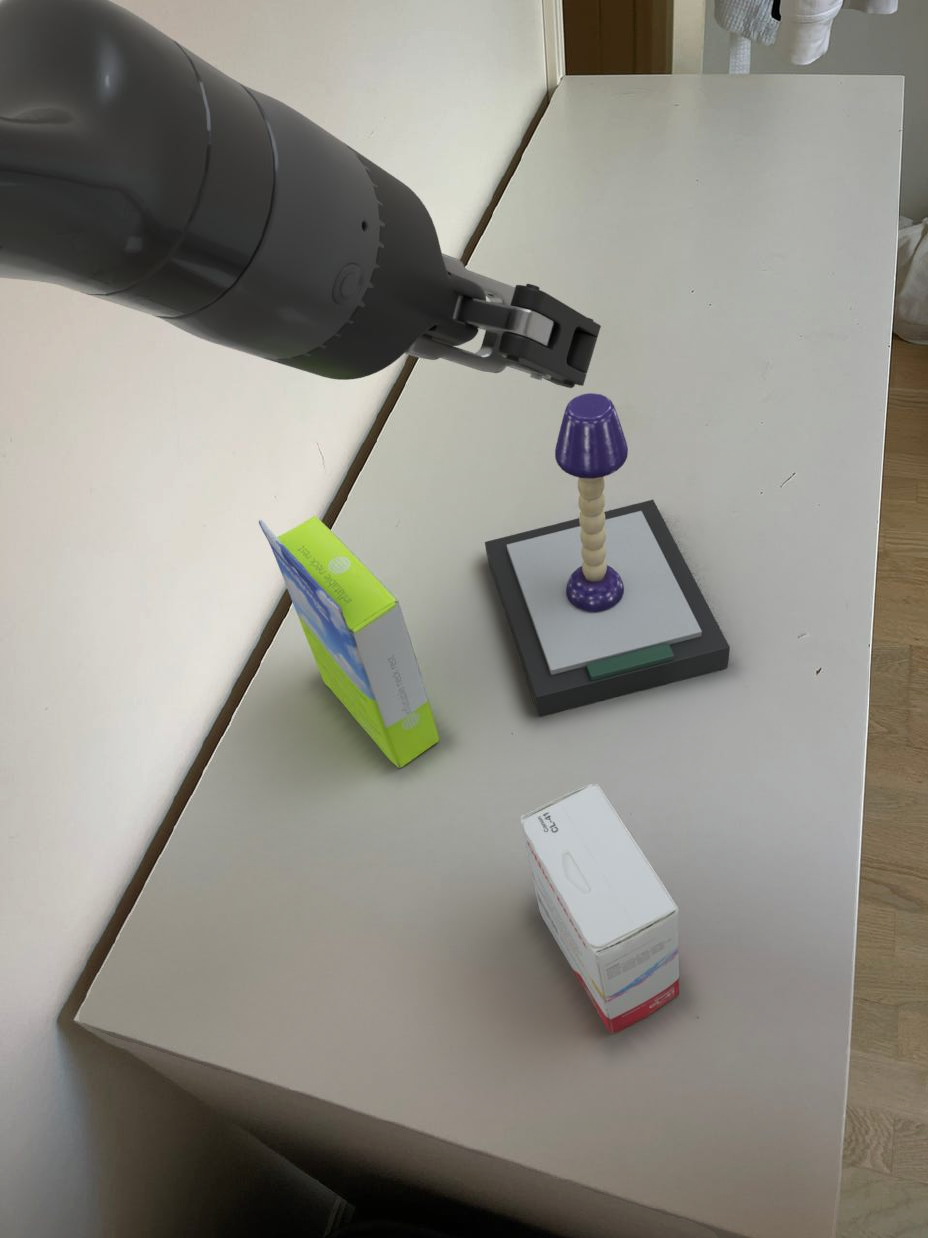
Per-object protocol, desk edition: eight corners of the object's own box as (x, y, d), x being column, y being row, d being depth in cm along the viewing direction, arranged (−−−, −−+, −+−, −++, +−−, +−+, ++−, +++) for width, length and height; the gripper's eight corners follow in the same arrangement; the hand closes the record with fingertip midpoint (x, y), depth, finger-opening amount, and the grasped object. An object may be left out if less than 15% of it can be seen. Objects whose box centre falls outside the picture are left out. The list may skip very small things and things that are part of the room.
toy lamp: (565, 566, 75) (550, 385, 63) (628, 563, 75) (625, 380, 62) (566, 614, 72) (550, 434, 60) (631, 611, 72) (629, 429, 59)
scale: (728, 668, 71) (730, 642, 69) (538, 717, 70) (535, 692, 68) (653, 520, 81) (653, 493, 79) (487, 562, 81) (483, 536, 79)
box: (443, 741, 70) (398, 576, 57) (395, 774, 69) (338, 613, 56) (364, 654, 76) (307, 487, 63) (319, 683, 75) (251, 519, 62)
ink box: (682, 999, 57) (690, 912, 48) (604, 1041, 56) (597, 960, 47) (605, 874, 62) (599, 774, 53) (533, 910, 61) (515, 816, 52)
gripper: (494, 151, 29) (657, 293, 43) (152, 103, 35) (393, 241, 50) (426, 403, 31) (606, 460, 45) (108, 314, 37) (355, 389, 51)
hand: (494, 345), depth 47 cm, fingers open, 8 cm apart
